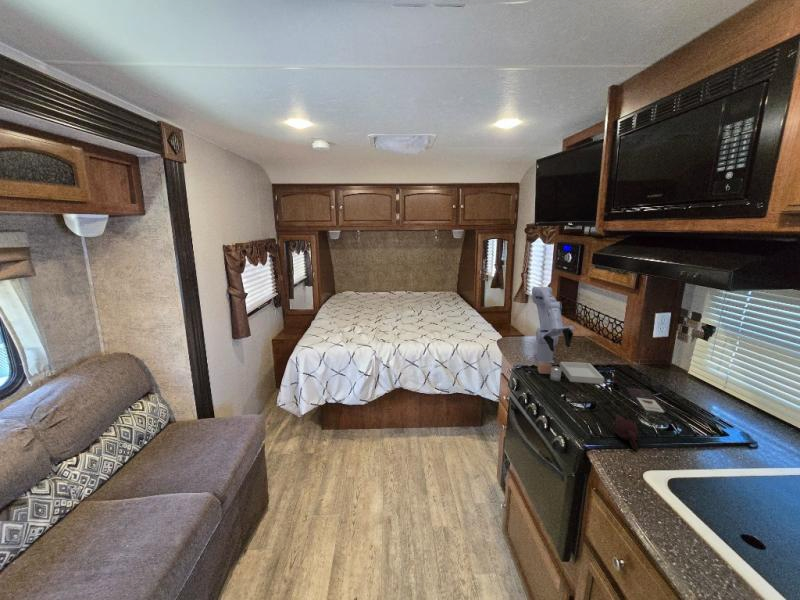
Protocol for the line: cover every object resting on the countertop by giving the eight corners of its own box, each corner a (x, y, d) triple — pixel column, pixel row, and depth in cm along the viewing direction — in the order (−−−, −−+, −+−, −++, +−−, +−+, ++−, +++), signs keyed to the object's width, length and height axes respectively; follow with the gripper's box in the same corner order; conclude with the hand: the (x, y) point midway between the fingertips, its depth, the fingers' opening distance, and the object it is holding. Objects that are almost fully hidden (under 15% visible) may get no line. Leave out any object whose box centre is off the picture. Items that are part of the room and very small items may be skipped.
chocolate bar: (649, 390, 140) (668, 412, 123) (648, 391, 140) (668, 414, 124) (625, 386, 143) (641, 408, 126) (624, 388, 143) (640, 410, 126)
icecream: (603, 407, 117) (620, 435, 103) (627, 404, 115) (647, 434, 101) (605, 423, 118) (623, 453, 105) (629, 421, 116) (649, 452, 102)
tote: (559, 367, 164) (560, 361, 163) (589, 368, 162) (589, 363, 161) (570, 381, 149) (571, 375, 148) (603, 384, 146) (604, 378, 146)
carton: (537, 370, 161) (538, 361, 160) (549, 370, 160) (550, 362, 159) (539, 373, 157) (540, 365, 156) (551, 374, 156) (552, 365, 155)
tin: (548, 376, 154) (550, 365, 153) (558, 377, 153) (559, 366, 152) (551, 380, 150) (552, 369, 148) (561, 381, 149) (563, 370, 148)
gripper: (537, 324, 159) (540, 349, 151) (566, 314, 149) (571, 340, 141) (545, 330, 162) (548, 354, 154) (574, 320, 152) (579, 346, 144)
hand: (560, 348), depth 148 cm, fingers open, 7 cm apart
